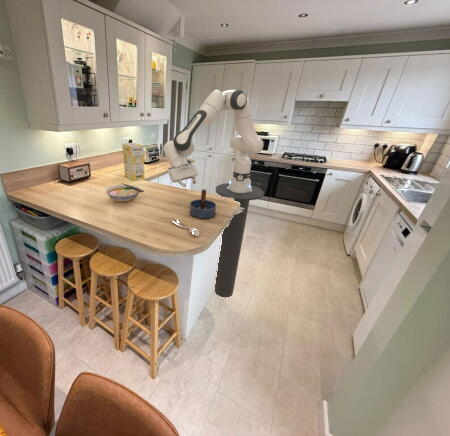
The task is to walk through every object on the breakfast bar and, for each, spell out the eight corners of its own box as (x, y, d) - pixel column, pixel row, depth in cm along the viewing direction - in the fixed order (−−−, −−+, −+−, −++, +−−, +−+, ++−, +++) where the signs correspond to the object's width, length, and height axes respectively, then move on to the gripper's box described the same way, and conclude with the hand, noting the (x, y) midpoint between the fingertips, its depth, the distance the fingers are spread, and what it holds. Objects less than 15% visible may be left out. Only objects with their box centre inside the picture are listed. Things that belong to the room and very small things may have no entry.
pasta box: (144, 179, 201) (143, 145, 189) (133, 180, 196) (131, 146, 184) (135, 174, 215) (133, 142, 203) (124, 175, 210) (122, 143, 198)
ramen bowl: (100, 198, 159) (98, 187, 155) (128, 191, 172) (127, 180, 169) (118, 210, 142) (117, 197, 138) (148, 201, 155) (148, 189, 151)
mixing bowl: (193, 206, 147) (194, 198, 144) (217, 211, 141) (218, 201, 139) (185, 216, 135) (186, 206, 132) (211, 221, 129) (212, 211, 126)
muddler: (199, 210, 140) (201, 188, 134) (206, 211, 139) (208, 189, 132) (197, 213, 137) (199, 190, 130) (204, 214, 135) (206, 191, 129)
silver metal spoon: (169, 216, 126) (176, 213, 128) (169, 221, 127) (175, 219, 130) (194, 232, 112) (201, 230, 114) (194, 239, 114) (201, 236, 116)
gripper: (168, 165, 133) (180, 185, 131) (193, 160, 145) (204, 179, 142) (163, 171, 138) (174, 191, 136) (188, 166, 150) (198, 184, 147)
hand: (189, 185), depth 139 cm, fingers open, 8 cm apart
